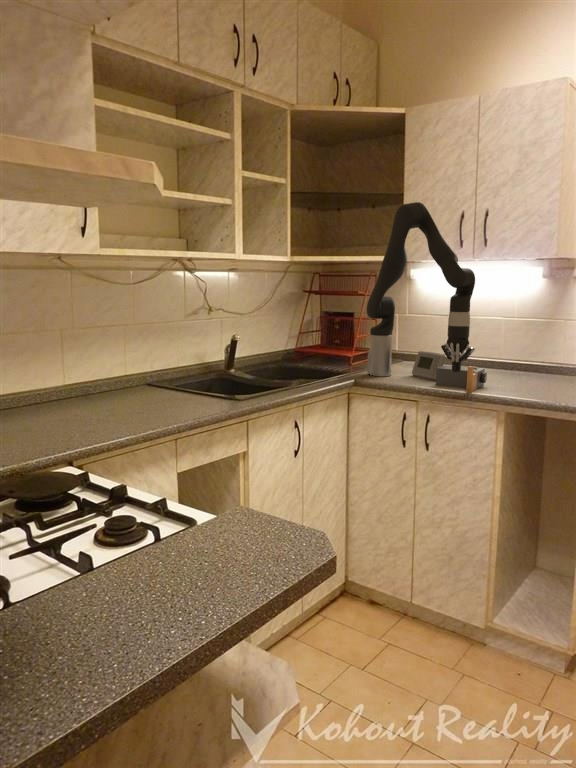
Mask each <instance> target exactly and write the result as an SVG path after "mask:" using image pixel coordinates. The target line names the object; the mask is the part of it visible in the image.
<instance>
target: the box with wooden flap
mask: <svg viewBox="0 0 576 768" xmlns="http://www.w3.org/2000/svg"><path fill="white" fill-rule="evenodd" d="M467 371H468V366H461V370H460V371H459V372H453V370H452V365H445V364H444V365H443V366H441V367H438V368H437V369H436V380H435V385H436V386H447V387H454V388H455V387H457V388H465V387H466V388H465V389H467ZM474 372H478V376H477V388H478V389H479V388H481V387H483V386H484V385H485V383H487V380H488V379H487V378H488V375H487V372H486V370H485V368H482V367H481V368H480V367H479V368H478V367H477V366H473V374H474Z"/></svg>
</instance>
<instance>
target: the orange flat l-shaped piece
mask: <svg viewBox="0 0 576 768" xmlns="http://www.w3.org/2000/svg"><path fill="white" fill-rule="evenodd" d="M467 367H468V371H467V388H465V389H466V391H465V392H466V394H472V393H473V392H474V391H476V390H478V389H477V376H478V372H474V374H473V367H474V366H471V365H469V366H467ZM472 391H473V392H472Z"/></svg>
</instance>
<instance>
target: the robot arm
mask: <svg viewBox="0 0 576 768" xmlns="http://www.w3.org/2000/svg"><path fill="white" fill-rule="evenodd" d="M416 228H418V229H419V230H420V231H421V232H422V233H423V235H425V238H426V241H427V247H428V252H429V255H430V256H431V258H432V259H433V260H434V261H435V263H436V264H437V265H438V267H439V268H440V269H441V273H442V274H443V277H444V279H445V280H446V282H447V283H448V285H449V286H451V287H452V288H454V289H455V293H454V294H453V295H452V296H451V297H450V299H449V300H450V301H449V314H448V318H447V319H448V320H447V321H448V322H447V340H446V343H444V344H441V346H440V348H441V350H442V351H443V353H444V355H445V356H446V358H447V360H450V361H451V362H452V363H451V366H452V370H453V372H459V371H460V370H461V367H462V362H463V361H467V360H468V358H469V357H470V356H471V355H472V354H473V352H475V348H474V347H472V346H471V345H470V341H469V338H470V327H471V299H472V296H473V294H474V293H473V292H474V288H475V285H476V274H475V273H474V271H473V270H472V269H470V268H468V267H461V266H460V264H459V263H458V261H459V258H458V256H457V254H456V253H455V251H454V250H453V249H452V247H451V246H450V245H449V244H448V243H447V241H446V239H445V238H444V237H443V235H442V234H441V231H440V230H439V228H438V226H437V225H436V223H435V221H434V219H433V217H432V215H431V213H430V212H429V210H428V209H427V207H426V205H425V204H424V203H422V202H420V201H416V202H410V203H405V204H401V205H400V206H398V208H397V210H396V212H395V215H394V218H393V223H392V226H391V232H390V236H389V241H388V243H387V247H386V250H385V254H384V257H383V259H382V262H381V265H380V266H381V267H380V269H379V272H378V276H377V279H376V281H375V285H374V287H373V289H372V292H370V295H369V298H368V301H367V304H366V315H367V316H368V318H369V319H375V320H376V319H377V320H378V319H381V320H380V323H378V324H376V325H375V326H372V327H371V328H370V332H369V333H370V335H369V352H367V373H366V374H370V375H369V376H372V375H373V376H372V377H389V376H392V353H393V350H392V349H393V331H394V326H395V313H396V304H395V301H394V298H393V297H391V296H385V294H386V293H387V292H388V291H389V289H391V288H392V287H393V286H394V285H395V284H396V283H397V282H398V281H399V280H400V279H401V277H403V274H404V271H405V269H406V267H407V262H408V253H407V248H406V242H407V241H406V240H407V238H408V235H409V232H410V231H411V230H412V229H416Z"/></svg>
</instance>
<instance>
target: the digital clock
mask: <svg viewBox="0 0 576 768" xmlns="http://www.w3.org/2000/svg"><path fill="white" fill-rule="evenodd" d="M446 358H447V356H446V355H445V354H443V353H437V352H433V351H425V350H420V351H418V352H417V355H416V358H415V362H414V364H413V367H412V371H411V374H412V375H413V376H415V377H418V378H422V379H427V380H431V381H436V369H437V368H438V367H441V366H444V365H445V363H446V362H445V361H446Z"/></svg>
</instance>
